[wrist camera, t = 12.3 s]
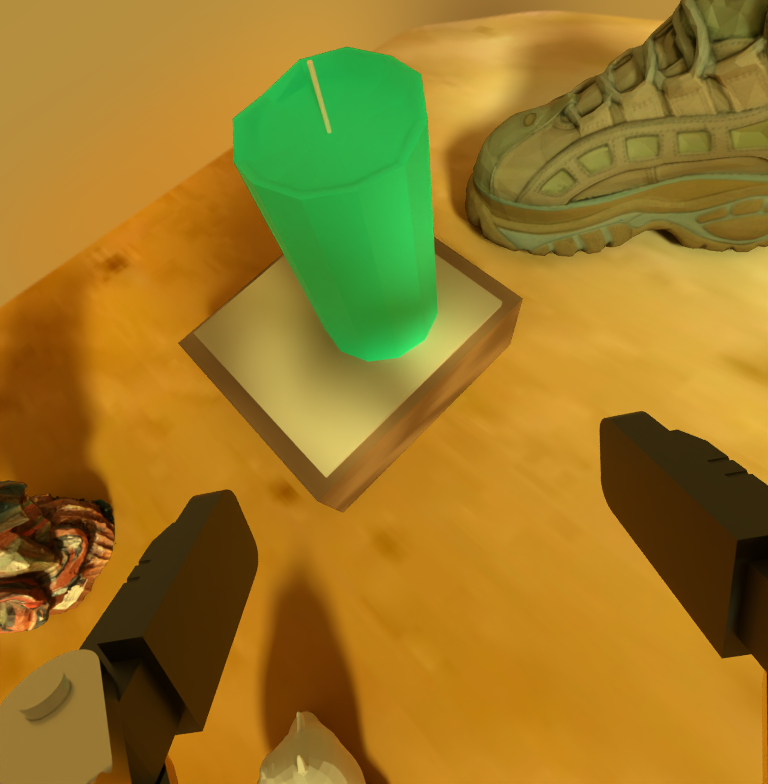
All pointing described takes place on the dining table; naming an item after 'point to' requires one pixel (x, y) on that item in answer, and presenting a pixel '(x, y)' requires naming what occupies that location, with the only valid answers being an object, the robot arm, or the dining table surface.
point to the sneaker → (641, 145)
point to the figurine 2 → (310, 757)
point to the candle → (349, 194)
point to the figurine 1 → (48, 554)
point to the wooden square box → (347, 373)
